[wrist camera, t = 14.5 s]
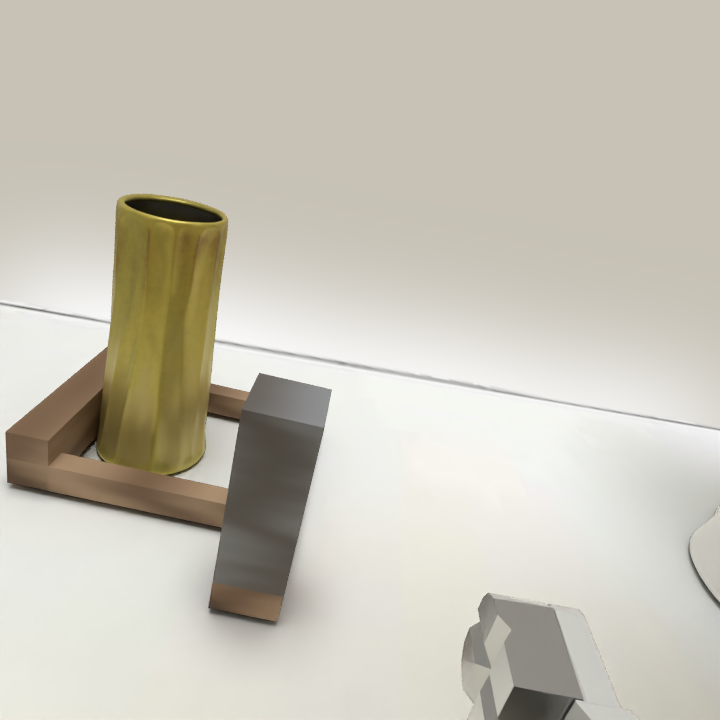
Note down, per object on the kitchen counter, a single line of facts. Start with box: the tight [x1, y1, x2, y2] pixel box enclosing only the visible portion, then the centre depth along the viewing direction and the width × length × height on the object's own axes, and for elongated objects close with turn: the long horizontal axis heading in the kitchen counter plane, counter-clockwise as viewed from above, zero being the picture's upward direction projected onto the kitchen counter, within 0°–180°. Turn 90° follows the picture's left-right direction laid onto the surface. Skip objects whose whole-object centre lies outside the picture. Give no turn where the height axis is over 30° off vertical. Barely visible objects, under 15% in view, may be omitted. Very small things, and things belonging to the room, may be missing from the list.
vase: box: [96, 194, 228, 475], centre depth 30 cm, size 6×6×14 cm
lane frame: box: [6, 347, 332, 622], centre depth 29 cm, size 14×16×10 cm
